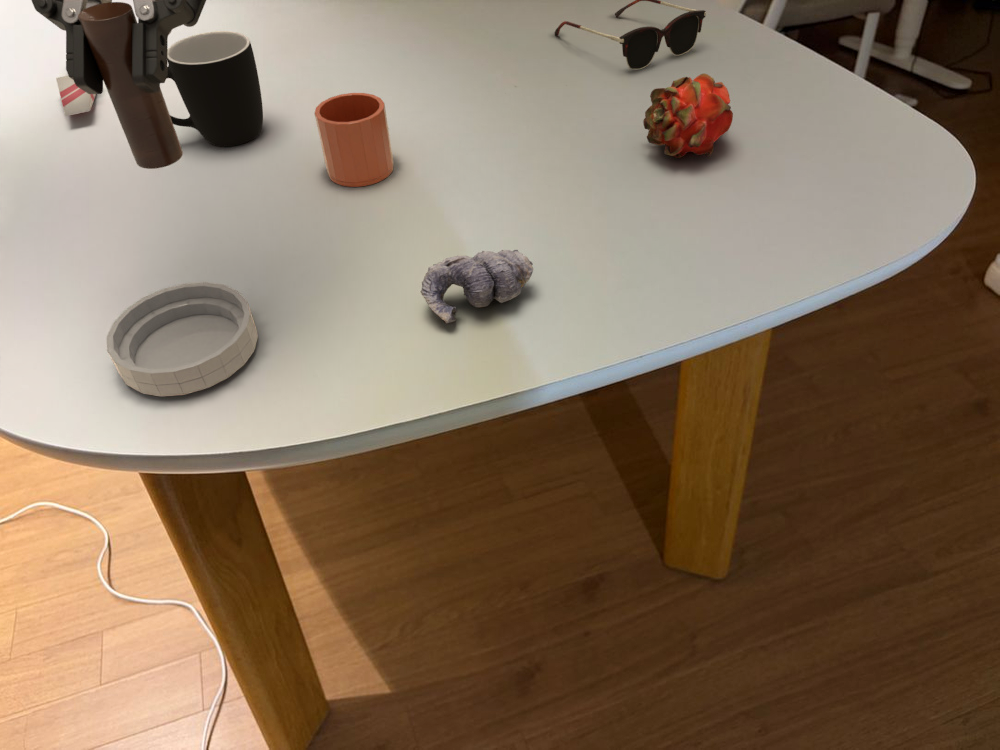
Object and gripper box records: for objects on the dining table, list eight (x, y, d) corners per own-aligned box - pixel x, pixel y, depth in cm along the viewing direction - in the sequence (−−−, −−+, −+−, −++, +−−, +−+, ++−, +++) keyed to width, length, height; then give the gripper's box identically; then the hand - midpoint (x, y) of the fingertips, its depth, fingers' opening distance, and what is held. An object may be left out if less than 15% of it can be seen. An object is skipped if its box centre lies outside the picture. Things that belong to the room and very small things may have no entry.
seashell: (431, 335, 68) (533, 298, 71) (445, 318, 62) (554, 279, 66) (406, 278, 68) (509, 244, 71) (418, 256, 63) (528, 220, 66)
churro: (54, 105, 94) (57, 52, 108) (64, 127, 96) (66, 73, 110) (89, 98, 95) (87, 47, 109) (98, 120, 96) (95, 67, 111)
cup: (325, 189, 83) (310, 126, 78) (331, 155, 88) (318, 94, 84) (392, 184, 83) (382, 121, 78) (394, 151, 88) (385, 90, 84)
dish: (103, 405, 62) (87, 377, 59) (141, 315, 69) (129, 287, 67) (246, 395, 62) (235, 367, 60) (268, 305, 70) (259, 278, 67)
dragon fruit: (647, 186, 84) (697, 153, 91) (717, 157, 77) (765, 125, 85) (614, 109, 82) (668, 83, 90) (683, 73, 76) (735, 48, 83)
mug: (267, 110, 97) (244, 25, 90) (278, 142, 91) (255, 54, 84) (165, 130, 95) (134, 44, 88) (170, 165, 89) (136, 75, 82)
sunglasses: (621, 76, 99) (622, 35, 96) (546, 45, 110) (544, 7, 107) (703, 48, 104) (707, 7, 101) (624, 20, 115) (624, -17, 112)
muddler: (132, 171, 55) (72, 23, 48) (140, 149, 58) (84, 4, 51) (179, 166, 55) (126, 17, 49) (186, 144, 58) (136, -1, 51)
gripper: (-30, -217, 48) (-32, 69, 48) (200, -229, 47) (200, 62, 47) (48, -135, 55) (47, 112, 55) (247, -144, 55) (248, 107, 54)
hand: (117, 87), depth 51 cm, fingers closed on muddler, 3 cm apart
